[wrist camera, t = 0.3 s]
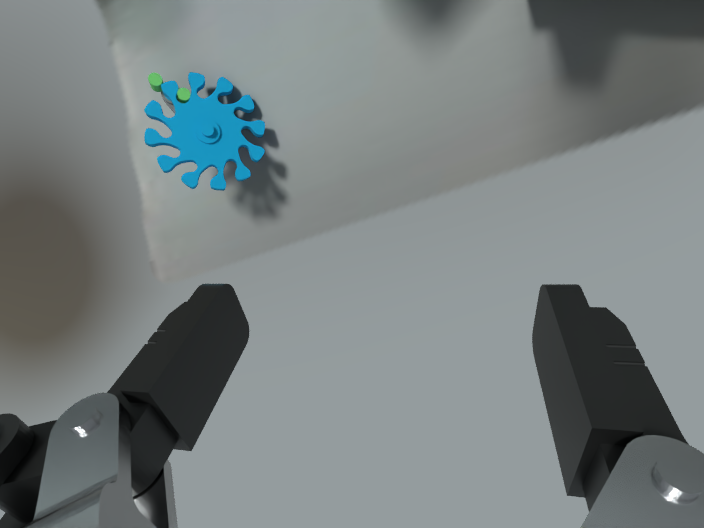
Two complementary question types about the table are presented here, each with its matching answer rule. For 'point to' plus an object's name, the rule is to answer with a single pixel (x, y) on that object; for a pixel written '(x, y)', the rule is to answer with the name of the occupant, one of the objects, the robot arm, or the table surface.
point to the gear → (203, 129)
